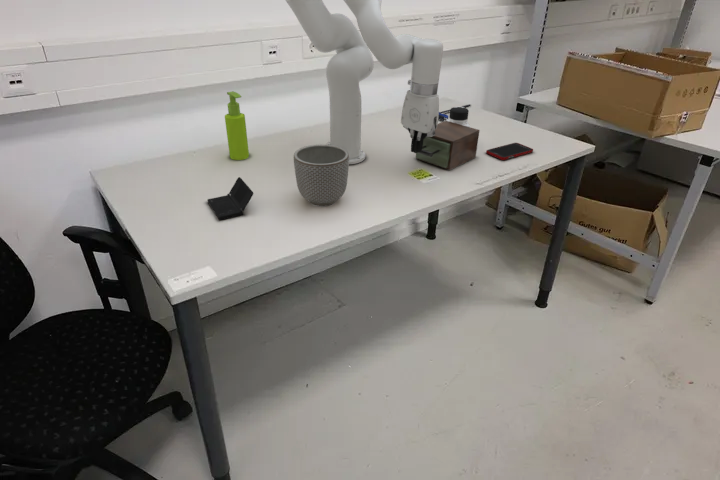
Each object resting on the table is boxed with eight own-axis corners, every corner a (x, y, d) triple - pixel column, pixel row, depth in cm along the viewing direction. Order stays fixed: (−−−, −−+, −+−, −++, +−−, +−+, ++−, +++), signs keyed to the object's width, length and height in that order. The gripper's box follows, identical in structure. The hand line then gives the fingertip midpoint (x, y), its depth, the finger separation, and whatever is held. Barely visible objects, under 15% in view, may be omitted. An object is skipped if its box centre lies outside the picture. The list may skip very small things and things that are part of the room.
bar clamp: (434, 118, 182) (413, 112, 188) (433, 124, 183) (412, 118, 189) (482, 105, 202) (462, 99, 208) (481, 110, 203) (461, 105, 209)
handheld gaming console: (199, 199, 124) (219, 166, 123) (221, 207, 130) (240, 175, 129) (219, 222, 118) (241, 188, 116) (241, 229, 123) (262, 197, 122)
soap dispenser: (237, 162, 149) (228, 96, 139) (226, 155, 154) (218, 91, 143) (254, 158, 152) (247, 93, 142) (243, 151, 157) (236, 88, 146)
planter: (326, 184, 137) (326, 140, 130) (359, 202, 128) (360, 155, 121) (285, 198, 129) (282, 152, 122) (317, 218, 120) (315, 169, 114)
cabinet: (449, 170, 147) (453, 141, 142) (416, 158, 154) (418, 130, 150) (475, 157, 156) (479, 129, 152) (443, 147, 164) (446, 120, 159)
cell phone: (533, 152, 161) (534, 149, 160) (502, 161, 154) (503, 158, 153) (515, 144, 166) (516, 142, 166) (484, 153, 159) (485, 150, 159)
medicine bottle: (467, 146, 164) (472, 111, 158) (446, 146, 164) (450, 111, 158) (464, 139, 170) (468, 105, 164) (443, 139, 170) (447, 104, 164)
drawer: (436, 172, 143) (438, 149, 139) (405, 161, 150) (407, 139, 146) (470, 156, 155) (473, 134, 151) (440, 146, 161) (443, 125, 157)
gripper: (394, 84, 135) (388, 147, 145) (438, 97, 127) (429, 162, 137) (410, 80, 140) (404, 141, 150) (454, 92, 132) (444, 155, 141)
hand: (416, 151), depth 143 cm, fingers closed
